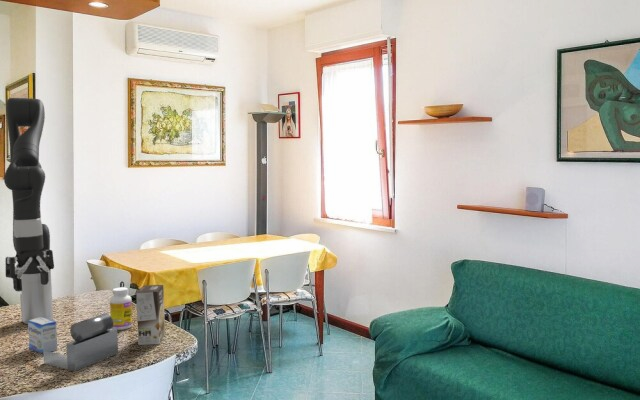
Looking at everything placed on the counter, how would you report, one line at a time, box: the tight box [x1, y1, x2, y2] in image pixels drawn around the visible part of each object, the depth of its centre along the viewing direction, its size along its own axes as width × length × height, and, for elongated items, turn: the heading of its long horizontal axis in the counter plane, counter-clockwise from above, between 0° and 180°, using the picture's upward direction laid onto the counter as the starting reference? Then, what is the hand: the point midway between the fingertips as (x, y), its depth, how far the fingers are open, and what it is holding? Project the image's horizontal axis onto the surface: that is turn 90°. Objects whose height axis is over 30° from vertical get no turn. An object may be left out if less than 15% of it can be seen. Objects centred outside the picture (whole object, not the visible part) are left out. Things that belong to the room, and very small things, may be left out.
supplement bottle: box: [109, 286, 133, 331], centre depth 182 cm, size 7×7×13 cm
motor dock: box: [43, 312, 119, 372], centre depth 155 cm, size 14×14×12 cm
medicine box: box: [27, 317, 58, 355], centre depth 163 cm, size 8×4×9 cm, turn 55°
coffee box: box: [135, 284, 166, 346], centre depth 169 cm, size 9×6×16 cm
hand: (31, 287), depth 166 cm, fingers open, 8 cm apart
